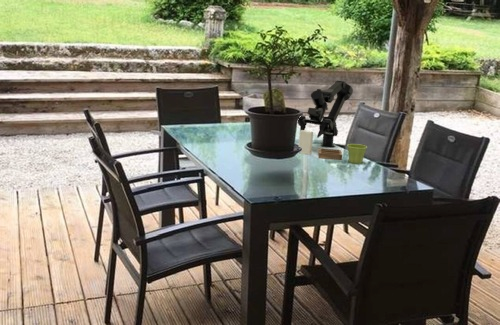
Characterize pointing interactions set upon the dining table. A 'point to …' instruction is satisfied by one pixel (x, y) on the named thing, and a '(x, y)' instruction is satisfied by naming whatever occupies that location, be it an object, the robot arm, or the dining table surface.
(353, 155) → the plant pot
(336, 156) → the box
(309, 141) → the cream rectangular block
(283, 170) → the dining table surface
